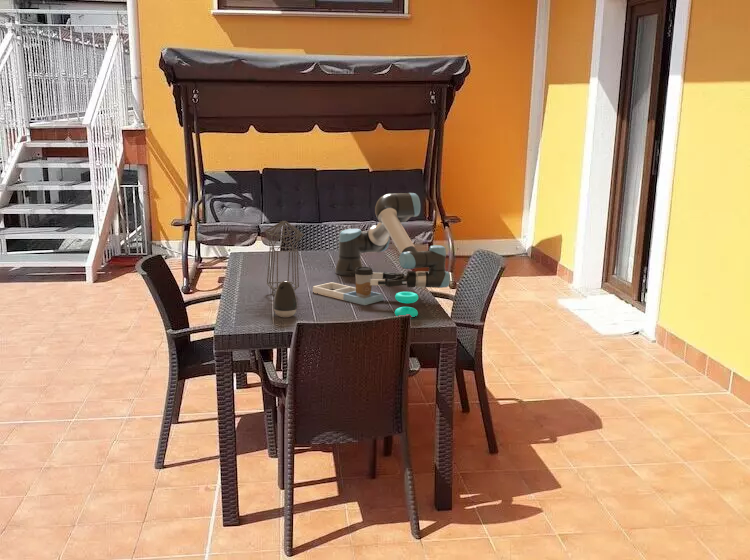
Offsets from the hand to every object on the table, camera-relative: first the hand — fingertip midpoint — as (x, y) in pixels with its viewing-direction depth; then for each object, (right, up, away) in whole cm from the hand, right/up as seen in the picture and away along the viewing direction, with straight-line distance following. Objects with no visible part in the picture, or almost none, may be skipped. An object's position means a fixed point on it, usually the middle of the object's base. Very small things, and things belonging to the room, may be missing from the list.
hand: (369, 278), depth 352 cm
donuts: (+16, -16, -22) cm, 32 cm away
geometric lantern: (-40, -8, +10) cm, 42 cm away
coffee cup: (-3, -10, +3) cm, 11 cm away
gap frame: (-11, -8, +9) cm, 16 cm away
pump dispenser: (-36, -16, -27) cm, 47 cm away
